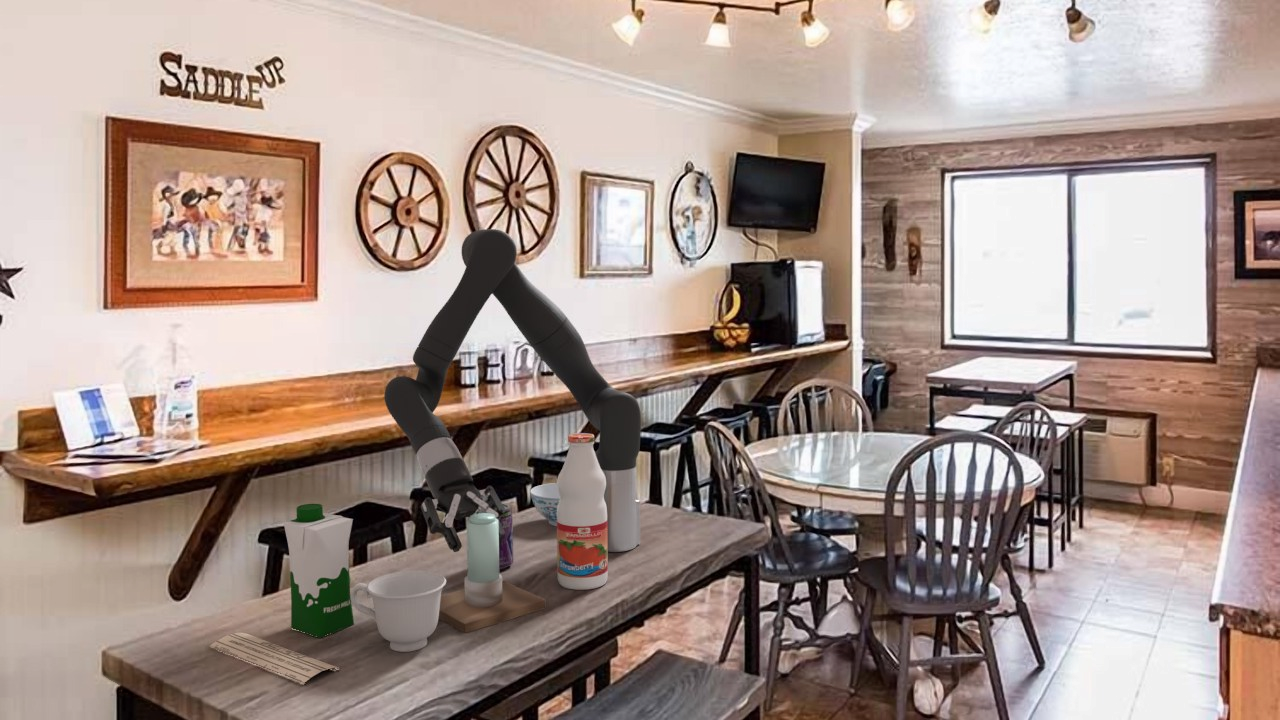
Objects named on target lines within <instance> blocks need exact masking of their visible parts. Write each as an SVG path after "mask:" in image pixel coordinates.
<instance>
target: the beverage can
mask: <svg viewBox="0 0 1280 720" xmlns="http://www.w3.org/2000/svg"><path fill="white" fill-rule="evenodd" d="M502 505H503V506H504V508H505V512H504V514H503V515H502V516H501V518H500V519H499V521H500V523H501V525H502V527H503V529H504V531H505V534H504V538H503V539H502V540H501V541H500V542H499V571H500V569H501V570H504V569H506V568H508V567H509V566H511V565H513V564H514V535H513V534H514V532H513V530H514V526H513V525H514V523H513V513H512V512H511V506H510V505H509V504H507V503H502ZM477 510H478V511H481V508H480V507H479V506H478V509H477Z"/></svg>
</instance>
